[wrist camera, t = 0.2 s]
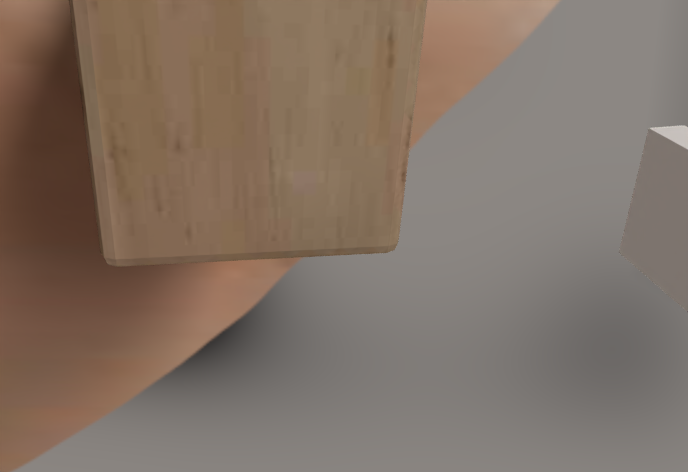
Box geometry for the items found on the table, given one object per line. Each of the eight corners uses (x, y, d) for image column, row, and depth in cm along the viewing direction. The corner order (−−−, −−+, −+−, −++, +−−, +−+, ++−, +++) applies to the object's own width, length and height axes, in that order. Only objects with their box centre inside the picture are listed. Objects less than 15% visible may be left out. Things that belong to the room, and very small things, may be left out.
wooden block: (136, 93, 38) (100, 274, 21) (120, -101, 33) (56, -73, 16) (307, 93, 40) (401, 257, 23) (314, -89, 35) (439, -52, 18)
